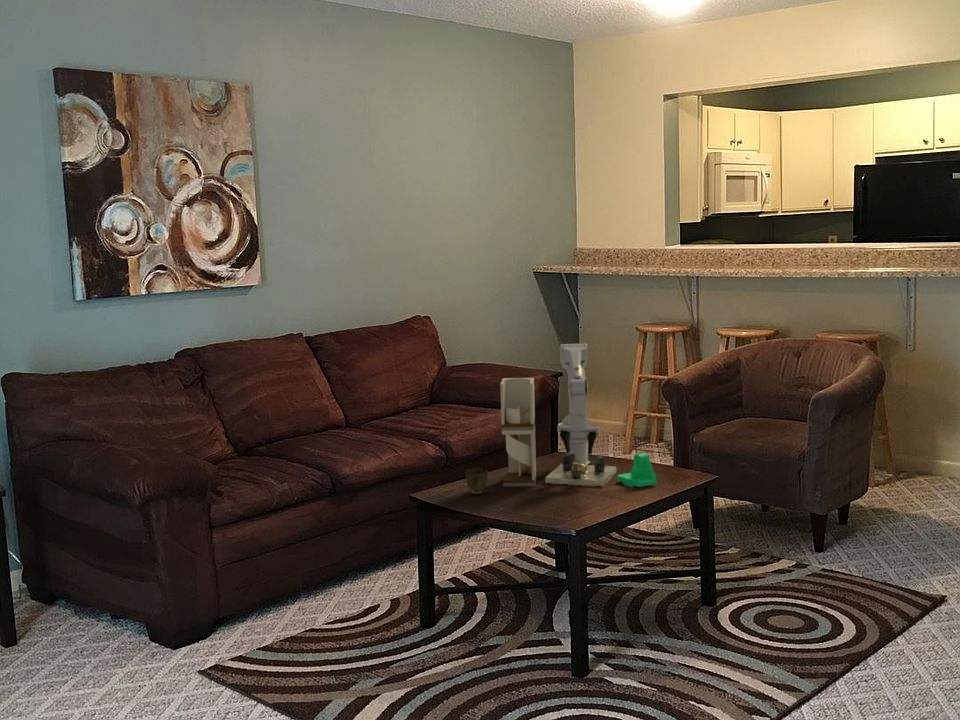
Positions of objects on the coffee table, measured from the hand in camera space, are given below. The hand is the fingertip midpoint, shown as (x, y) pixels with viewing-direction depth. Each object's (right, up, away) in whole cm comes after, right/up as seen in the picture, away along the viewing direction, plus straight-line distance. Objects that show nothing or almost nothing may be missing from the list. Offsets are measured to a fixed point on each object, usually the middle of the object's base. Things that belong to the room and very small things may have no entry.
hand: (579, 453), depth 361 cm
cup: (-35, -13, -13) cm, 39 cm away
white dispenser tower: (-20, -10, +1) cm, 22 cm away
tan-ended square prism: (-1, -8, -3) cm, 8 cm away
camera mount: (+19, -10, -7) cm, 22 cm away
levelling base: (+1, -9, +4) cm, 10 cm away
